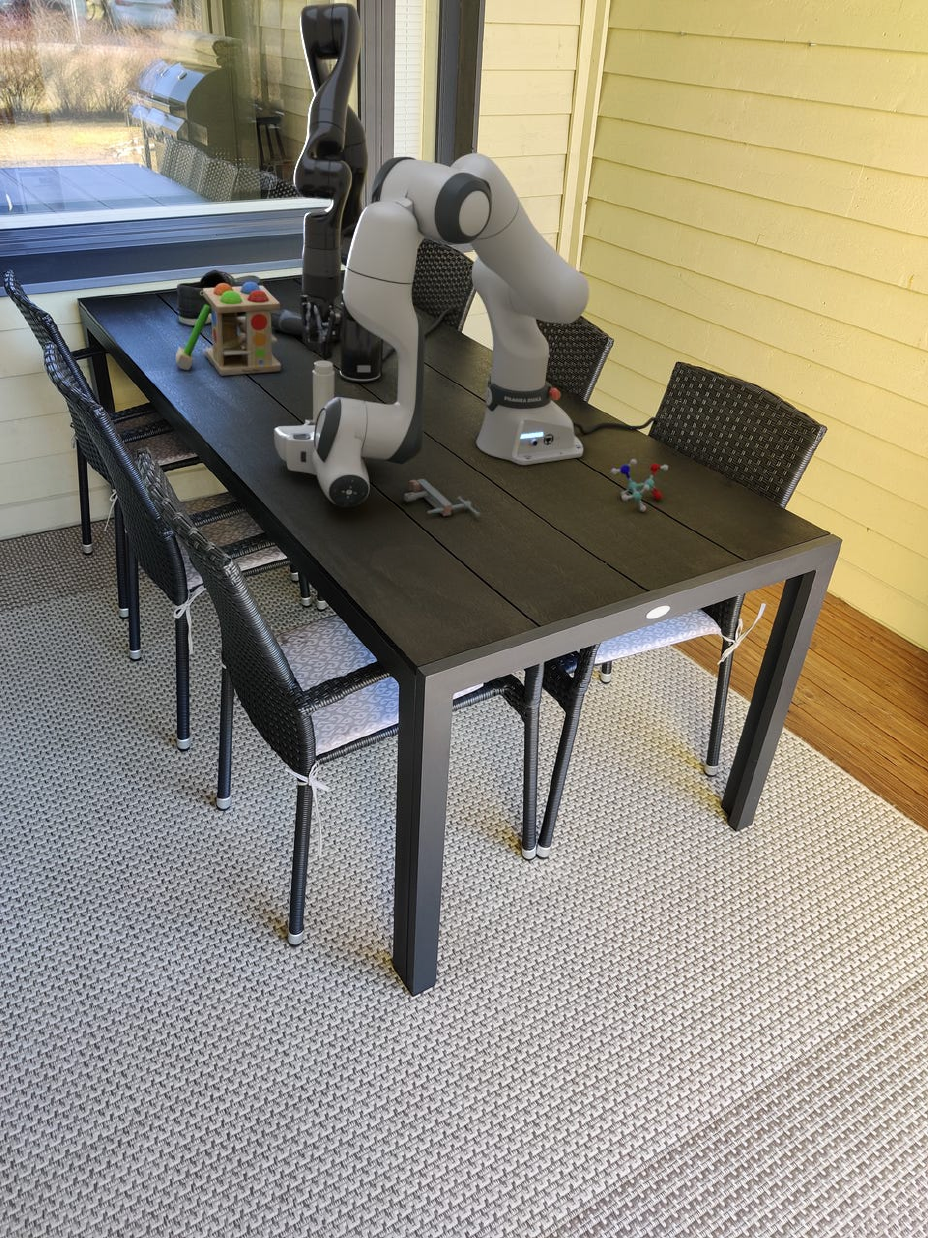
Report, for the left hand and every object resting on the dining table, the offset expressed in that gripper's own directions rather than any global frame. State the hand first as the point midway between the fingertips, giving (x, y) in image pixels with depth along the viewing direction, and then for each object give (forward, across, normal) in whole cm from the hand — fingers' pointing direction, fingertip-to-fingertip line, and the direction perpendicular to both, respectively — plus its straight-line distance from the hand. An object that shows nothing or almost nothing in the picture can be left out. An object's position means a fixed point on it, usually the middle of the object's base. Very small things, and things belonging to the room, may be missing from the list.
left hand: (320, 353), depth 201 cm
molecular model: (+14, +60, +35) cm, 71 cm away
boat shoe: (+14, -75, +14) cm, 77 cm away
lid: (-3, 0, 0) cm, 3 cm away
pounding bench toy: (+14, -37, -4) cm, 40 cm away
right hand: (+8, +14, -8) cm, 18 cm away
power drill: (+14, -48, +26) cm, 57 cm away
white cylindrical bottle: (+14, +15, -8) cm, 22 cm away
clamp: (+14, +44, -1) cm, 47 cm away
